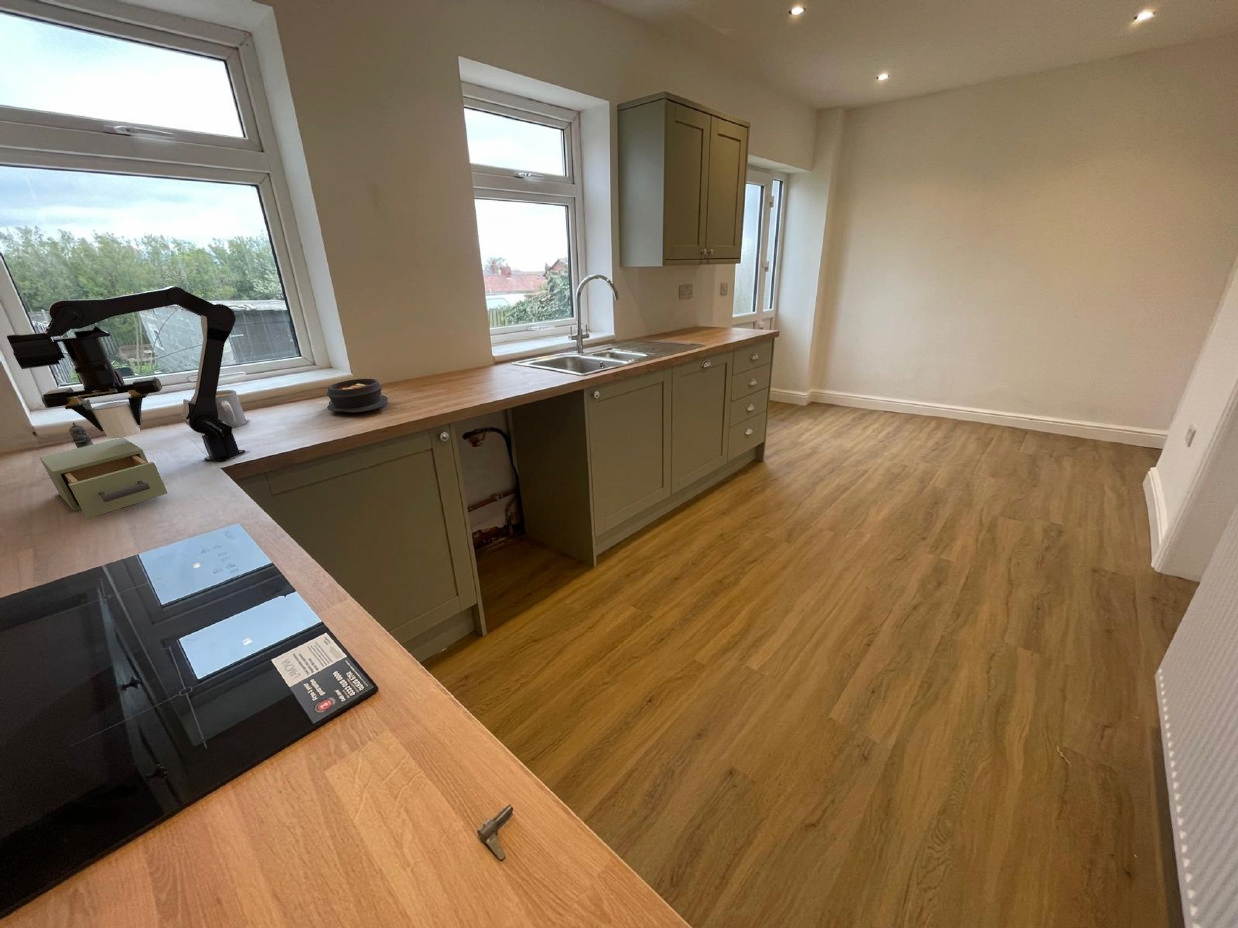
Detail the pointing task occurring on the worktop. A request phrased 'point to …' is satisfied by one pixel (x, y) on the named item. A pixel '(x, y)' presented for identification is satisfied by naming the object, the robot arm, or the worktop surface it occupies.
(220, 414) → the coffee mug
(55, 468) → the cabinet
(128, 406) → the white cup
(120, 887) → the worktop surface
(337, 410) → the casserole
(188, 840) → the worktop surface
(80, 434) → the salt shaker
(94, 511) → the drawer
